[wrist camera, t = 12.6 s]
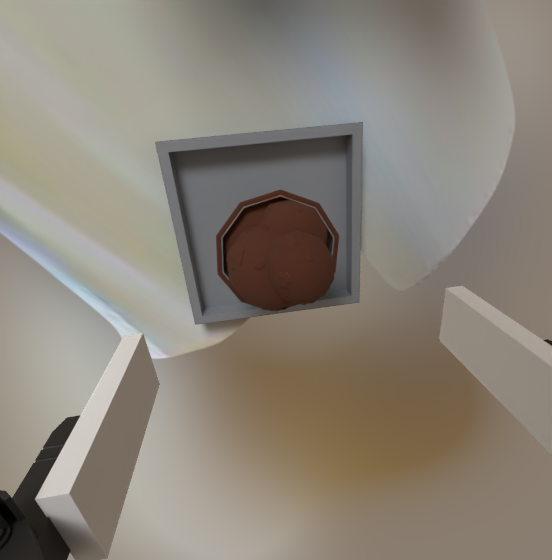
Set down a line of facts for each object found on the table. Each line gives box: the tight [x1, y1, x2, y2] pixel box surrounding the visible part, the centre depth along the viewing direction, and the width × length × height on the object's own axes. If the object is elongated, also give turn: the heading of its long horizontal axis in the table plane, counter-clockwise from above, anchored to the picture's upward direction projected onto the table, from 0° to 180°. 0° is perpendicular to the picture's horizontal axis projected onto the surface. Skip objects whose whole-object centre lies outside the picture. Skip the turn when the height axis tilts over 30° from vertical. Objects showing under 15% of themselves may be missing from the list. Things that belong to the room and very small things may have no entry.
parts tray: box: [155, 122, 363, 325], centre depth 37 cm, size 20×20×3 cm
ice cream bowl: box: [216, 189, 339, 311], centre depth 30 cm, size 11×11×15 cm
